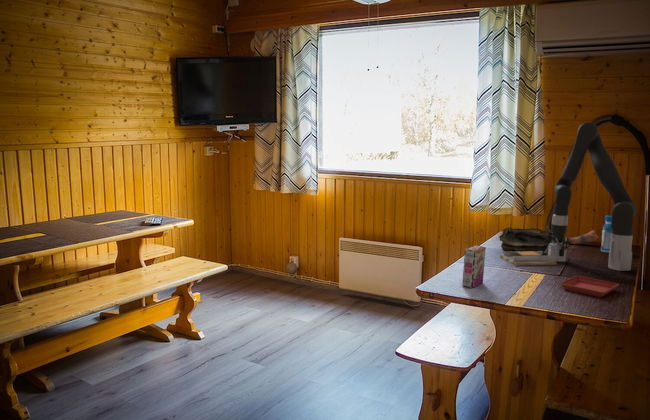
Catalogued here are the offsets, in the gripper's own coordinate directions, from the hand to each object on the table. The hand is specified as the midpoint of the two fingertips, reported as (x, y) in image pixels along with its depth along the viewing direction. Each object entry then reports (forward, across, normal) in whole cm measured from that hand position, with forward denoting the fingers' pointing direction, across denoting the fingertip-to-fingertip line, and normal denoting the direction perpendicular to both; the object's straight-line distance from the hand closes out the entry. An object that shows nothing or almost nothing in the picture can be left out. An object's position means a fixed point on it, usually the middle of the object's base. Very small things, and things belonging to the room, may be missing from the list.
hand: (556, 254), depth 287 cm
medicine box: (+3, 0, 0) cm, 3 cm away
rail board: (+3, -1, +16) cm, 16 cm away
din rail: (+2, -1, +16) cm, 16 cm away
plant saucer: (+4, -50, +14) cm, 52 cm away
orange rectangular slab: (0, -1, +16) cm, 16 cm away
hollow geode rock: (+4, +19, +7) cm, 20 cm away
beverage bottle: (+3, +17, -42) cm, 45 cm away
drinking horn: (+4, +37, -32) cm, 49 cm away
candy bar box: (+4, -38, +62) cm, 73 cm away
